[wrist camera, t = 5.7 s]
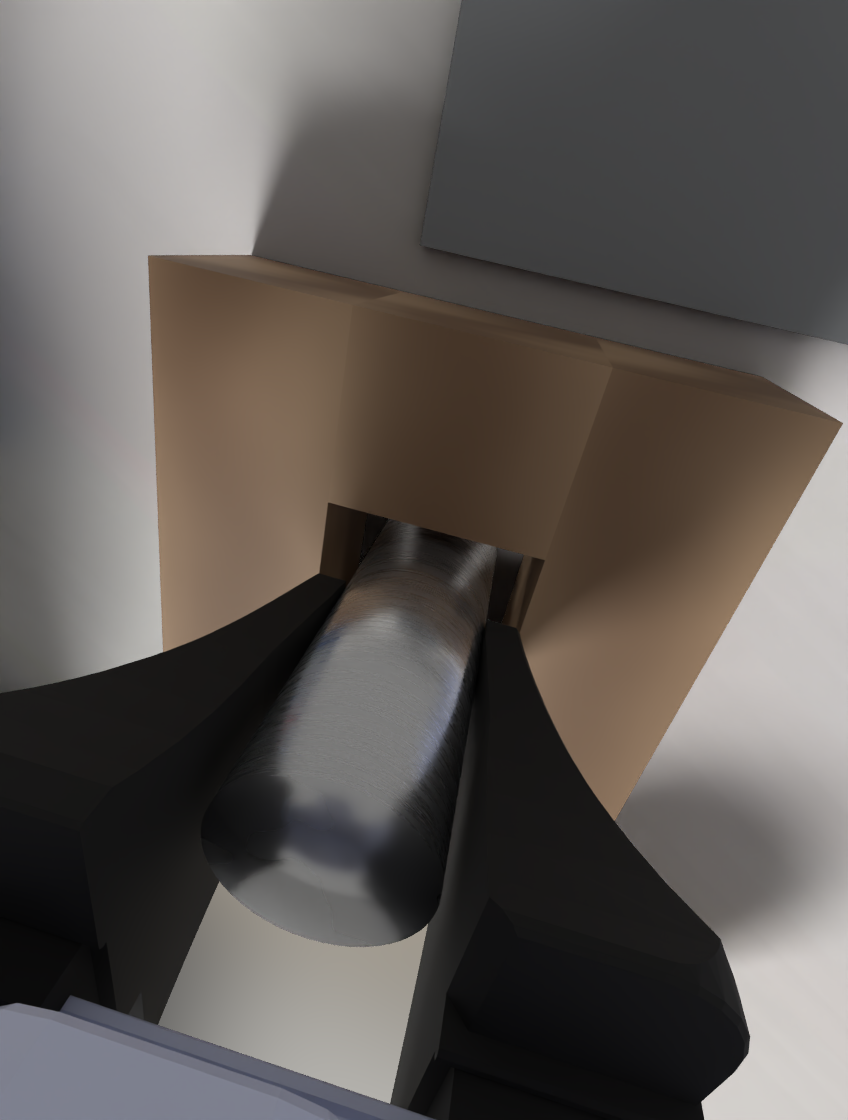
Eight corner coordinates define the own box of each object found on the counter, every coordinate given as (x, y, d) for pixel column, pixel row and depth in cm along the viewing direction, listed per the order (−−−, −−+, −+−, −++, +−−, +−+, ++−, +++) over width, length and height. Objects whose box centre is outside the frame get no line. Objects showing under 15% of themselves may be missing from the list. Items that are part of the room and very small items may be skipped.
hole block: (762, 377, 13) (842, 423, 9) (582, 749, 19) (590, 862, 15) (250, 255, 14) (147, 255, 10) (234, 648, 19) (166, 734, 16)
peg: (514, 520, 14) (479, 838, 6) (473, 616, 15) (399, 975, 8) (400, 478, 14) (217, 739, 6) (368, 577, 16) (188, 893, 8)
